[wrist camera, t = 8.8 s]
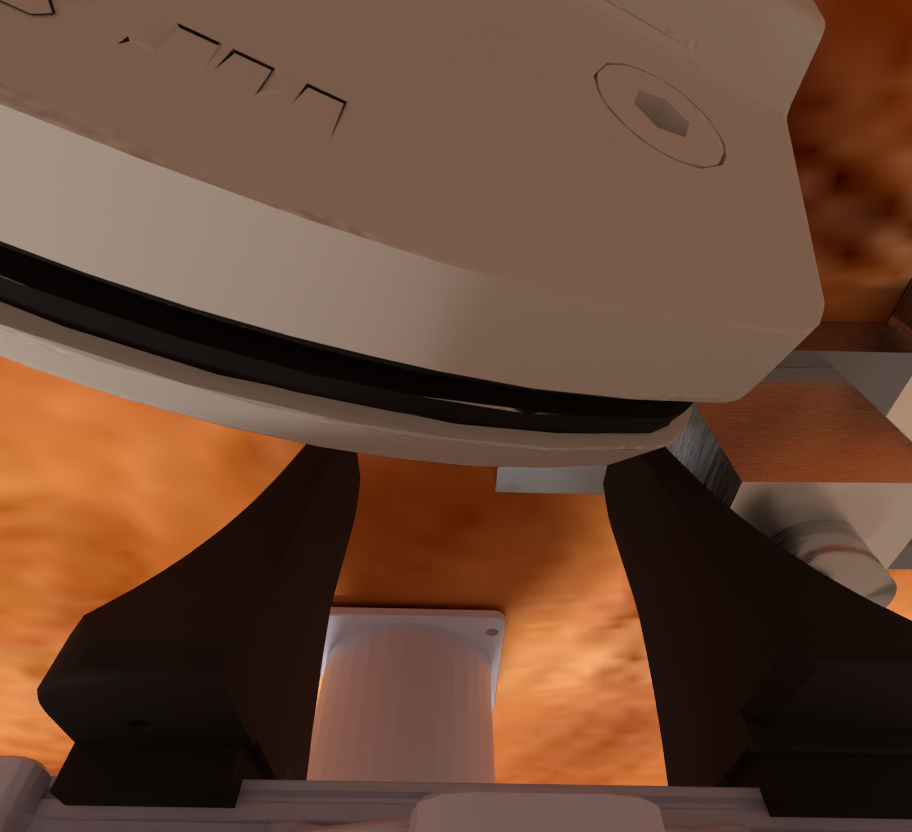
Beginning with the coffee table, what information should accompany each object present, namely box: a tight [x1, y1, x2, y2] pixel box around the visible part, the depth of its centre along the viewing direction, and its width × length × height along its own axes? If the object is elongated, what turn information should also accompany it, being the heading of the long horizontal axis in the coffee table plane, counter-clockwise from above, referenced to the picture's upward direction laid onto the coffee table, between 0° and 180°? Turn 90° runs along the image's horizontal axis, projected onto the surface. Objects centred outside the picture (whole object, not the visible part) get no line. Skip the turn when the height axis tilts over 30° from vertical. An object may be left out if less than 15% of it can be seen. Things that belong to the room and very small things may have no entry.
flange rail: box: [494, 280, 912, 569], centre depth 14 cm, size 8×19×3 cm, turn 89°
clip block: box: [665, 367, 912, 608], centre depth 12 cm, size 4×4×5 cm
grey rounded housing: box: [0, 0, 825, 468], centre depth 7 cm, size 17×5×10 cm, turn 67°
